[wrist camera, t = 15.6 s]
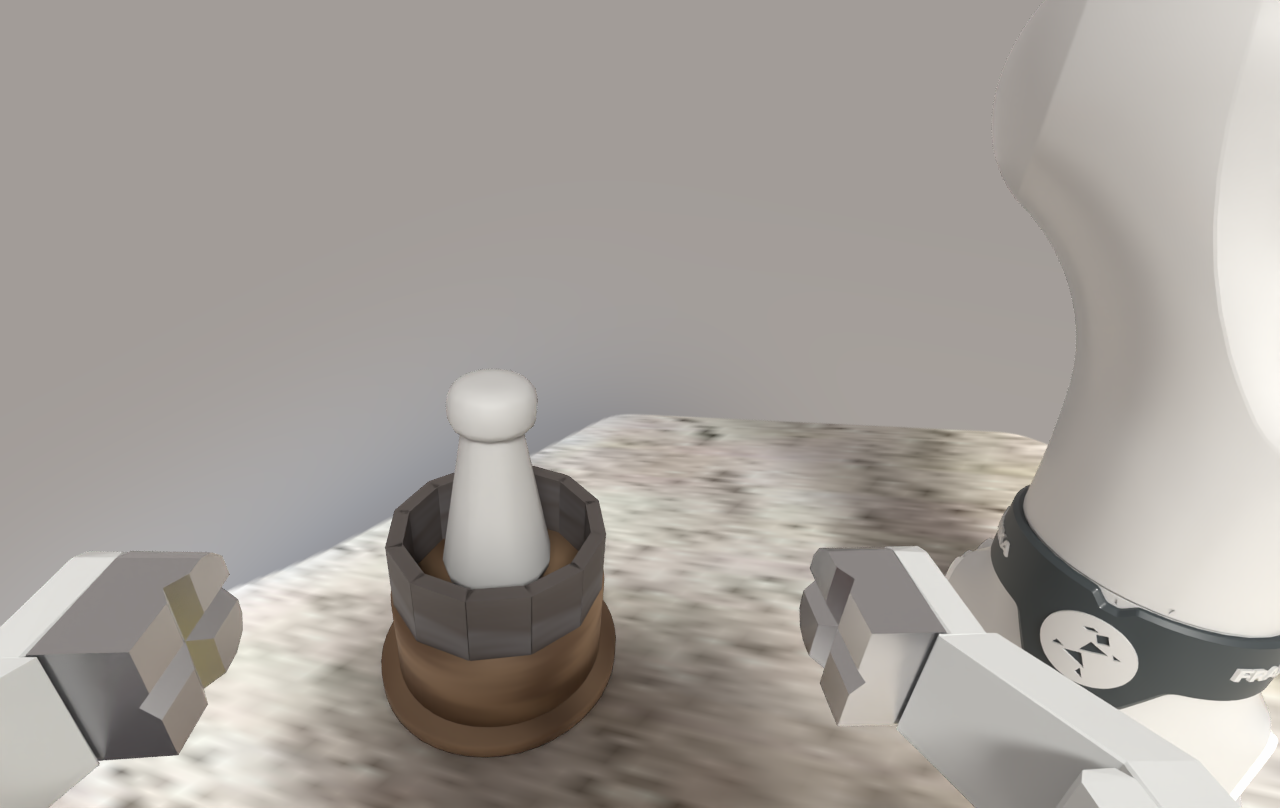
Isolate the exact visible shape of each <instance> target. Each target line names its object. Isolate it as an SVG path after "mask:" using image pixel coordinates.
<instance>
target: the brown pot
mask: <svg viewBox="0 0 1280 808" xmlns="http://www.w3.org/2000/svg"><path fill="white" fill-rule="evenodd" d="M532 468H533V472H534V477H535V481H536V485H537V489H538V493H539V498H540V502H541V506H542V510H543V515H544V519H545V523H546V527H547V531H548V536H549V540H550V561H549V565H548V568H547V569H546V571H545V573H544V574H543V576H542V577H541V578H540V579H538V580H536V581H534V582H532V583H530V584H528V585H524V586H511V587H498V588H485V589H472V590H471V589H468V588H465V587H462V586H459V585H456V584H453V583H452V582H451V579H450V577H449V575H448V572H447V570H446V568H445V565H444V562H443V553H444V546H445V539H446V532H447V524H448V517H449V510H450V503H451V495H452V488H453V481H454V473H452V474H449V475H446V476H443V477H440V478H437V479H434V480H431V481H429V482H427V483H426V484H425V485H424V486H423V487H421V488H420V489H419V490H418V491H417V492H416V493H414V494H413V495H412V496H411V497H410V498H409V499H407V500H406V501H405V502H404V503H403V504H402V505H401V506H399V507H398V508H397V509H396V510H395V511H394V514H393V518H392V522H391V526H390V530H389V534H388V538H387V542H386V547H385V549H386V556H387V563H388V570H389V577H390V584H391V606H392V613H393V620H394V621H393V623H392V625H391V627H390V629H389V631H388V634H387V636H386V639H385V643H384V646H383V652H382V660H381V663H382V677H383V683H384V688H385V692H386V696H387V699H388V702H389V704H390V706H391V709H392V711H393V712H394V714H395V715H396V717H397V718H398V720H399V721H400V722H401V723H402V724H403V725H404V726H405V727H406V728H407V729H408V730H409V732H411V733H412V734H413V735H415V736H416V737H418V738H419V739H420V740H422V741H423V742H425V743H427V744H429V745H431V746H433V747H435V748H438V749H441V750H444V751H447V752H450V753H453V754H459V755H464V756H473V757H495V756H505V755H510V754H516V753H521V752H524V751H527V750H530V749H533V748H536V747H539V746H541V745H543V744H545V743H547V742H550V741H552V740H554V739H555V738H557V737H559V736H560V735H562V734H564V733H565V732H567V731H568V730H570V729H571V728H572V727H573V726H575V725H576V724H577V723H578V722H580V721H581V720H582V719H583V718H584V717H585V716H586V715H587V713H588V712H589V711H590V710H591V709H592V708H593V707H594V705H595V704H596V703H597V701H598V700H599V698H600V697H601V695H602V693H603V691H604V690H605V688H606V686H607V683H608V681H609V678H610V675H611V672H612V667H613V663H614V654H615V638H616V637H615V629H614V624H613V620H612V616H611V614H610V612H609V610H608V607H607V605H606V604H605V602H604V601H603V589H604V571H603V565H604V552H605V538H606V532H605V528H604V523H603V519H602V514H601V509H600V505H599V501H598V499H596V498H595V497H594V496H593V495H591V494H590V493H589V492H588V491H587V490H585V489H584V488H583V487H582V486H581V485H579V484H578V483H577V482H576V481H574V480H573V479H572V478H571V477H570V476H568V475H564V474H561V473H557V472H553V471H550V470H546V469H543V468H539V467H535V466H532Z"/></svg>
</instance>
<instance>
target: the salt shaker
mask: <svg viewBox="0 0 1280 808" xmlns="http://www.w3.org/2000/svg"><path fill="white" fill-rule="evenodd" d="M537 402H538V399H537V394H536V388H535V387H534V386H533V385H532V384H531V382H530V381H529V380H528V379H526V378H525V377H524V376H523V375H520V374H518V373H515V372H513V371H508V370H501V369H484V370H478V371H474V372H470V373H466V374H465V375H463V376H461V377H460V378H458V379H457V380H456V381H455V382H454V383H453V384H452V385H451V386H450V389H449V391H448V393H447V399H446V412H447V419H448V421H449V423H450V425H451V426H452V428H453V429H454V431H455V432H456V433H457V434H459V435H460V437H459V444H458V452H457V459H456V466H455V473H454V481H453V488H452V495H451V503H450V510H449V517H448V524H447V532H446V539H445V546H444V553H443V562H444V565H445V568H446V570H447V572H448V575H449V577H450V579H451V582H452V583H453V584H456V585H459V586H462V587H465V588H468V589H471V590H472V589H485V588H498V587H511V586H524V585H528V584H530V583H532V582H534V581H536V580H538V579H540V578H541V577H542V576H543V574H544V573H545V571H546V569H547V568H548V565H549V561H550V540H549V536H548V531H547V527H546V523H545V519H544V515H543V510H542V506H541V502H540V498H539V493H538V489H537V485H536V481H535V477H534V472H533V468H532V464H531V460H530V456H529V452H528V448H527V443H526V439H525V433H526V432H527V431H528V430H529V429H531V428H532V427H533V426H534V424H535V421H536V413H537Z"/></svg>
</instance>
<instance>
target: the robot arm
mask: <svg viewBox="0 0 1280 808" xmlns="http://www.w3.org/2000/svg"><path fill="white" fill-rule="evenodd" d="M991 130H992V143H993V149H994V154H995V158H996V162H997V164H998V168H999V170H1000V173H1001V176H1002V177H1003V180H1004V181H1005V183H1006V185H1007V187H1008V189H1009V190H1010V192H1011V193H1012V195H1013V196H1014V198H1015V199H1016V200H1017V201H1018V202H1019V203H1020V204H1021V206H1023V208H1024V209H1025V210H1026V211H1027V212H1028V213H1029V214H1030V215H1031V217H1032V218H1033V219H1034V221H1035V222H1036V223H1037V224H1038V226H1039V227H1040V228H1041V230H1042V231H1043V232H1044V234H1045V235H1046V237H1047V239H1048V241H1049V242H1050V244H1051V246H1052V247H1053V249H1054V251H1055V253H1056V255H1057V257H1058V259H1059V262H1060V264H1061V266H1062V269H1063V271H1064V274H1065V276H1066V280H1067V283H1068V286H1069V289H1070V293H1071V297H1072V302H1073V308H1074V314H1075V324H1076V352H1075V361H1074V368H1073V373H1072V377H1071V381H1070V385H1069V388H1068V391H1067V394H1066V397H1065V400H1064V403H1063V406H1062V409H1061V412H1060V415H1059V418H1058V420H1057V423H1056V426H1055V429H1054V431H1053V434H1052V436H1051V439H1050V441H1049V444H1048V446H1047V449H1046V451H1045V453H1044V456H1043V458H1042V461H1041V463H1040V465H1039V467H1038V469H1037V471H1036V474H1035V476H1034V478H1033V480H1032V482H1031V485H1028V486H1026V487H1025V488H1023V489H1021V490H1020V491H1019V492H1018V493H1017V495H1016V496H1015V498H1014V500H1013V502H1012V504H1011V506H1008V508H1007V510H1006V511H1005V512H1004V514H1003V516H1002V518H1001V520H1000V522H999V525H998V531H997V534H996V536H995V538H994V539H991V538H989V539H987V540H985V541H984V542H983V543H982V544H981V545H980V546H979V547H978V549H977V550H975V551H971V550H968V551H966V552H965V553H964V554H963V555H962V556H961V557H957V558H956V559H955V560H954V561H953V562H952V564H951V565H950V567H949V569H948V571H947V573H946V575H945V576H944V575H943V573H942V572H941V571H940V569H939V568H938V567H937V565H936V564H935V563H934V561H933V560H932V558H931V557H930V556H929V554H928V553H927V552H926V551H925V550H923V549H922V548H920V547H919V546H893V547H884V548H882V547H859V548H819V549H818V551H817V552H816V553H815V554H814V556H813V560H812V563H811V566H810V570H811V572H812V574H813V576H814V578H815V581H814V582H813V583H812V584H811V585H809V586H808V587H807V588H806V589H805V590H804V591H803V595H802V599H801V604H800V628H801V633H802V637H803V641H804V644H805V647H806V649H807V652H808V654H809V656H810V657H811V658H812V659H814V660H815V661H816V662H817V663H818V664H820V665H821V666H822V667H823V668H824V671H823V675H822V678H821V681H820V685H821V687H822V690H823V692H824V694H825V697H826V699H827V702H828V704H829V707H830V709H831V712H832V714H833V717H834V719H835V721H836V724H837V726H897V728H896V729H897V730H898V731H899V732H900V733H901V734H902V735H903V736H904V737H905V738H906V739H907V740H908V741H909V742H910V743H911V744H912V745H913V746H914V747H915V748H916V749H917V750H918V751H919V752H920V753H921V754H922V755H923V756H924V757H925V758H926V759H927V760H928V761H929V762H930V763H931V764H932V765H933V766H934V767H935V768H936V769H937V770H938V771H939V772H940V773H941V774H942V775H943V776H944V777H945V778H946V779H947V780H948V781H949V782H950V783H951V784H952V785H953V786H954V787H955V788H956V789H957V790H958V791H959V792H960V793H961V794H962V795H963V796H964V797H965V798H966V799H967V800H968V801H969V802H970V803H971V804H972V805H973V806H974V807H975V808H1242V801H1241V793H1242V792H1243V791H1244V789H1245V788H1246V787H1247V786H1248V784H1249V783H1250V782H1251V781H1252V779H1253V778H1254V777H1255V775H1256V774H1257V773H1258V772H1259V770H1260V769H1261V768H1262V767H1263V765H1264V764H1265V763H1266V761H1267V760H1268V759H1269V758H1270V756H1271V755H1272V753H1273V752H1274V750H1275V748H1276V746H1277V743H1278V738H1277V737H1276V736H1275V735H1274V733H1273V732H1272V731H1271V716H1270V713H1269V710H1268V707H1267V705H1266V702H1265V700H1264V698H1263V696H1262V693H1261V691H1263V690H1264V689H1265V688H1266V687H1267V686H1268V684H1269V683H1270V682H1271V681H1272V680H1273V678H1274V677H1275V676H1277V675H1278V674H1279V673H1280V0H1044V1H1043V2H1042V4H1041V5H1040V6H1039V7H1038V8H1037V10H1036V11H1035V12H1034V14H1033V15H1032V17H1031V18H1030V19H1029V21H1028V22H1027V24H1026V25H1025V26H1024V28H1023V30H1022V31H1021V33H1020V35H1019V36H1018V38H1017V40H1016V42H1015V43H1014V45H1013V47H1012V49H1011V51H1010V53H1009V55H1008V58H1007V60H1006V62H1005V64H1004V67H1003V69H1002V72H1001V75H1000V78H999V82H998V85H997V88H996V92H995V97H994V103H993V109H992V127H991ZM229 575H230V574H229V571H228V569H227V566H226V564H225V561H224V559H223V556H221V555H218V554H215V553H210V552H153V551H152V552H151V551H130V552H101V551H87V552H85V553H82V554H80V555H77V556H75V557H72V558H71V559H70V560H69V561H68V562H67V563H66V564H65V565H64V566H63V567H62V568H61V569H60V570H59V571H58V572H57V573H56V574H55V575H54V576H53V577H52V578H51V579H50V580H49V581H47V582H46V583H45V584H44V585H43V586H42V587H41V588H40V589H39V590H38V591H37V592H36V593H35V594H34V595H33V596H32V597H31V598H30V599H29V600H28V601H27V602H26V603H25V604H24V605H23V606H22V607H21V608H20V609H19V610H18V611H17V612H16V613H15V614H14V615H12V616H11V617H10V618H9V619H8V620H7V621H6V623H4V624H3V625H2V626H1V627H0V808H49V807H50V806H51V805H52V804H53V803H55V802H56V801H57V800H58V799H59V798H61V797H62V796H63V795H64V794H65V793H67V792H68V791H69V790H70V789H71V788H72V787H74V786H75V785H76V784H77V783H78V782H80V781H81V780H82V779H83V778H84V777H86V776H87V775H88V774H89V773H90V772H92V771H93V770H94V769H95V768H96V767H98V766H99V764H100V763H99V762H98V761H102V760H116V759H130V758H144V757H158V756H172V755H179V753H180V751H181V750H182V748H183V746H184V744H185V743H186V741H187V739H188V738H189V736H190V734H191V732H192V731H193V729H194V727H195V726H196V724H197V722H198V720H199V719H200V717H201V715H202V713H203V712H204V710H205V708H206V707H207V705H208V702H207V698H206V695H205V691H204V688H205V687H207V686H208V685H210V684H211V683H212V682H214V681H215V680H216V679H218V678H219V677H221V676H222V675H223V674H225V673H226V672H227V670H228V668H229V666H230V664H231V662H232V661H233V659H234V657H235V655H236V653H237V650H238V646H239V642H240V639H241V635H242V631H243V622H242V611H241V608H240V604H239V601H238V599H237V598H236V597H234V596H233V595H231V594H230V593H229V592H227V591H226V590H225V589H223V588H222V585H223V584H224V582H225V581H226V579H227V578H228V576H229Z"/></svg>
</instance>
